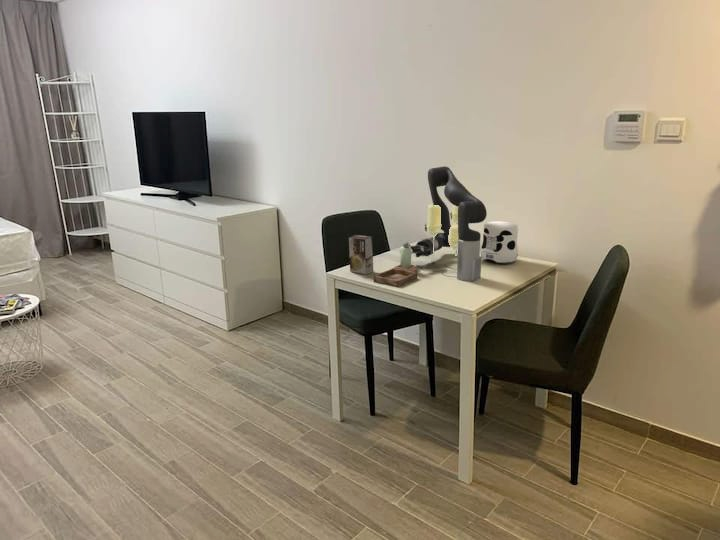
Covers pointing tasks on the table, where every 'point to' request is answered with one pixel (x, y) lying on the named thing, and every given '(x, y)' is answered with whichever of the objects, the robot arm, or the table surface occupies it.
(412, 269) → the holder
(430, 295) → the table surface
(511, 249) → the cow print rice cooker
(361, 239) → the coffee box
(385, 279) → the tray
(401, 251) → the bottle
